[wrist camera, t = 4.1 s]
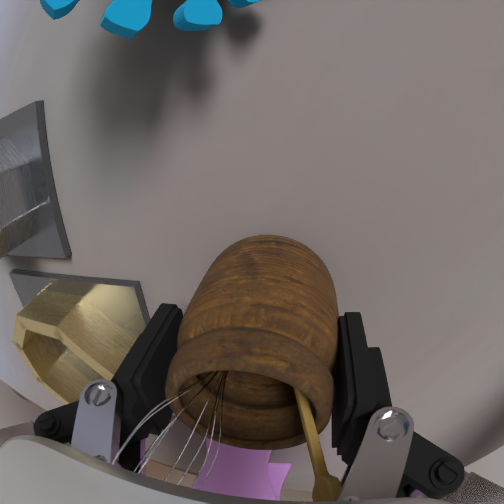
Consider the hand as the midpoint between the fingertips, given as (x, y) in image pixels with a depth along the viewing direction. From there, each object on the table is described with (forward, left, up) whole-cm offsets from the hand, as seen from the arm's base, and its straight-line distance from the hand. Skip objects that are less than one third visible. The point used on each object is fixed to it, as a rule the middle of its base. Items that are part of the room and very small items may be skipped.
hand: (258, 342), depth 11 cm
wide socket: (+13, +6, -4) cm, 15 cm away
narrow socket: (+16, -6, -4) cm, 17 cm away
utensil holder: (0, 0, -4) cm, 4 cm away
